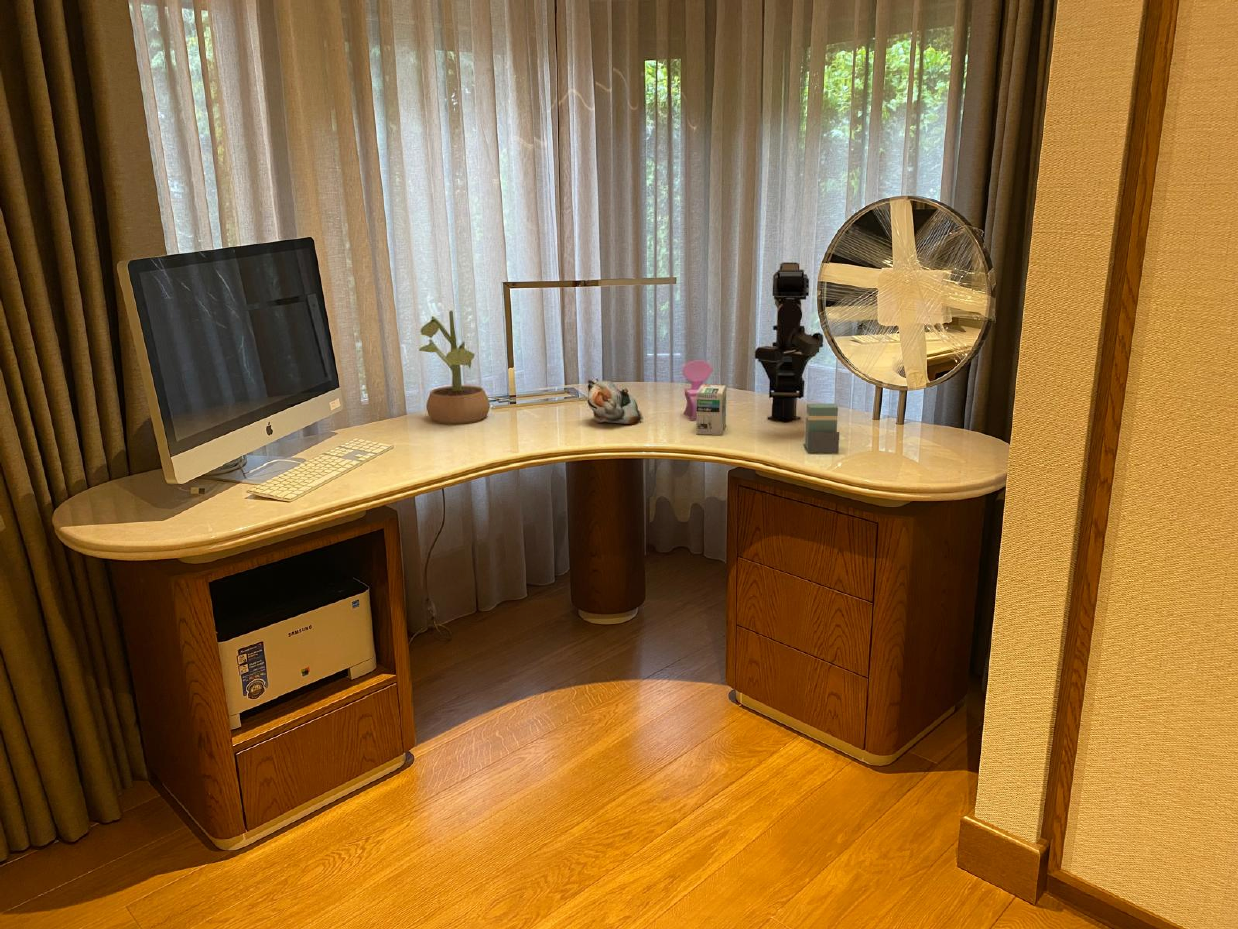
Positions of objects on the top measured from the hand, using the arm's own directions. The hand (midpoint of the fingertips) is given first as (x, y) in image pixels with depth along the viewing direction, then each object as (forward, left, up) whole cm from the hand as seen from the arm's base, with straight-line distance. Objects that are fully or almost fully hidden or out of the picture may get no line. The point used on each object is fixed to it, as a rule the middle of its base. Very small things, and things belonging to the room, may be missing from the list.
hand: (786, 384), depth 230 cm
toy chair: (+4, -26, -12) cm, 29 cm away
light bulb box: (+12, -14, -12) cm, 22 cm away
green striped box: (+7, +16, -12) cm, 21 cm away
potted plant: (+53, -69, -12) cm, 88 cm away
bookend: (+7, +16, -12) cm, 21 cm away
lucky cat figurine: (+24, -38, -12) cm, 46 cm away
